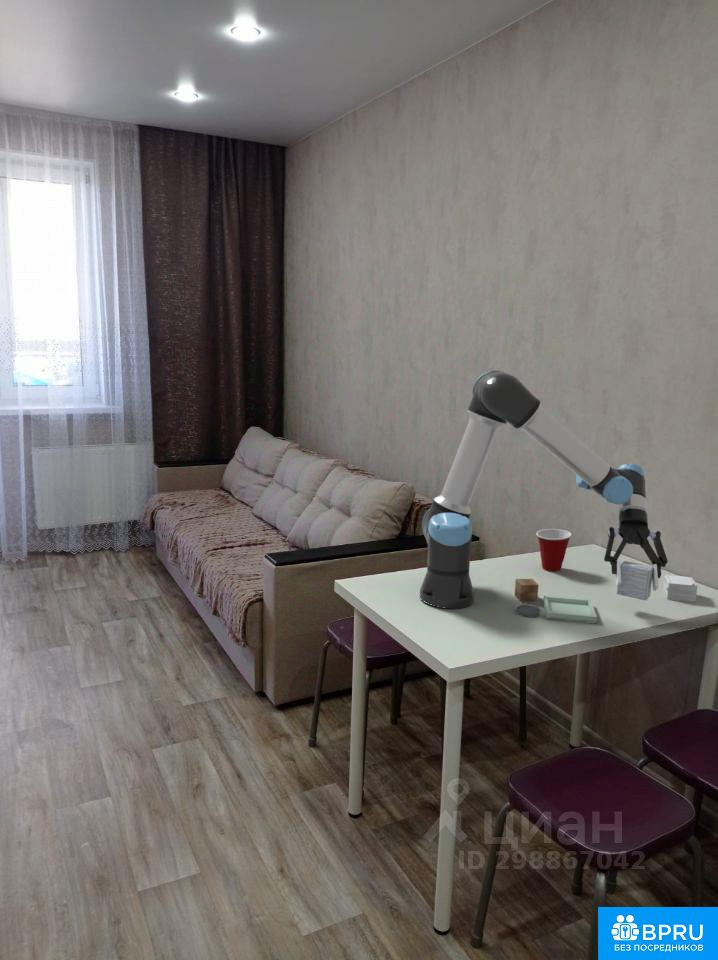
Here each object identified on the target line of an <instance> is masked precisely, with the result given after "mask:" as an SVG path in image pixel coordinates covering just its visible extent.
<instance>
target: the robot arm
mask: <svg viewBox="0 0 718 960" xmlns="http://www.w3.org/2000/svg"><path fill="white" fill-rule="evenodd" d="M467 413H468V415H469V421H468V423H467V425H466V428H465V431H464V434H463V436H462V439H461V442H460V444H459V447H458V449H457V452H456V455H455V456H454V460H453V461H452V466H451V467H450V470H449V473H448V476H447V478H446V481H445V482H444V483H445V484H444V485H443V488H442V490H441V494H440V495H438V496H436V497H434V498H433V500H432V503H431V505H430V508H429V509H428V510H427V511H426V513H425V514H424V516H423V518H422V519H423V520H422V523H421V529H422V533H423V535H424V538H425V540H426V541H425V542H426V544H427V562H426V563H427V567H426V573H425V575H424V578H423V581H422V584H421V586H420V588H419V599H420V598H421V599H422V600H423V601H425V602H427V603H429V604H432V605H435V606H439V607H445V608H444V609H447V608H456V609H463V608H467V607H469V606H472V605H473V604H474V602H475V590H474V587H473V583H472V580H471V577H470V567H471V565H470V564H471V562H470V561H471V550H472V549H471V547H472V537H473V527H472V526H473V525H472V522H471V520H470V518H471V514H472V510H471V508H470V506H469V505H470V504H471V503H470V502H471V500H472V498H473V495H474V492H475V490H476V487H477V485H478V483H479V480H480V477H481V474H482V472H483V469H484V468H485V464H486V462H487V459H488V456H489V455H490V452H491V449H492V446H493V444H494V442H495V439H496V437H497V434H498V431H499V429H500V428H502V427H504V426H507V423H508V424H510V425H511V426H512V427H513V428H514V429H516V430H522V431H524V432H525V433H526V434H528V436H530V437H531V438H532V439H534V441H536V442H537V443H538V444H540V445H541V446H542V447H543V448H545V450H546V451H548V452H549V453H550V454H551V455H552V456H554V457H555V459H557V460H559V461H560V462H561V463H562V464H563V465H564V466H566V467H567V468H568V469H569V470H570V471H571V472H573V473H574V474H575V484H576V486H577V487H579V488H582V489H585V490H590V491H593V492H595V493H596V494H597V495H599V496H600V497H602V498H603V499H605V500H606V501H607V502H608V503H610V504H613V505H618V521H619V522H618V523H619V524H618V525H619V527H618V528H614V527H613V526H610V527H609V529H608V531H607V537H608V540H607V546H606V548H605V549H606V550H605V553H604V558H603V560H604V562H606V563H607V562H609V564H610V569H611V574H612V575H615V587H616V588H618V587H619V586H620V584H621V569H620V565H621V560H618V559H619V557H620V556H621V554H622V552H623V551H624V549H625V547H626V545H637V546H640V548H641V549H642V550H643V551H644V552H645V554H646V556H647V559H649V561H650V563H651V564H652V567H653V575H652V584H651V585H652V591H654V592H655V591H657V590H658V588H659V579H660V578H661V577H662V568H666V566H667V564H668V561H669V560H668V557H667V555H666V552H665V548H664V545H663V543H662V539H661V533H662V532H661V531H659V530H657V531H651V530H650V528H649V524H648V523H649V522H648V513H647V512H648V508H647V499H646V498H647V496H646V479H645V472H644V468H642V467H641V466H640V465H639V464H636V463H623V464H622V465H620V466H619V467H617V468H613V467H612V466H610V464H608V463H607V462H606V461H605V460H604V459H602V458H601V457H600V456H599V455H598V454H597V453H595V452H594V450H592V449H591V448H590V447H588V446H587V444H585V443H584V442H582V441H581V440H580V439H579V438H578V437H577V436H576V435H575V434H573V432H571V431H570V430H569V429H567V428H566V427H565V426H564V425H562V424H561V422H559V421H558V420H557V419H556V418H555V417H553V416H552V415H551V414H550V413H549V412H548V411H546V410H545V409H544V408H543V407H542V401H540V399H538V398H537V397H536V396H535V395H534V394H533V393H532V392H531V391H530V390H529V389H528V388H527V387H526V386H525V385H524V384H523V383H522V382H521V381H520V379H518V378H517V377H516V376H515V375H513V374H510V373H507V372H505V371H501V370H490V371H487V372H485V373H483V374H481V375H480V376H479V377H478V378H477V379H476V380H475V382H474V385H473V387H472V398H471V401H470V403H469V405H468V408H467ZM617 535H619V536H620V538H621V539H622V540H621V542H620V544H619V546H618V548H617V550H616V551H615V553H614V555H611V554H612V551H613V546H614V540H615V538H616V537H617ZM649 537H650V538H651V540H652V541H653V546H654V547H655V550H654V549H653V547H652V545H651V544H650V540H649V539H648V538H649ZM655 551H656V552H655ZM421 599H420V600H421ZM439 607H438V608H439Z"/></svg>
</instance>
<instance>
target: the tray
mask: <svg viewBox="0 0 718 960" xmlns="http://www.w3.org/2000/svg"><path fill="white" fill-rule="evenodd" d="M542 599H543V601H542V602H543V607H544V611H545V617H546V620H553V621H565V622H577V623H585V624H586V623H587V622H588V623H587V624H597V622H598V615H597V613H596V611H595V607H594V606H593V603H592V600H591V599H588V598H587V599H586V598H576V597H565V596H564V597H563V596H562V597H561V596H554V595H553V596H551V595H543V598H542Z"/></svg>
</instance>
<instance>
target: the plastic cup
mask: <svg viewBox="0 0 718 960" xmlns="http://www.w3.org/2000/svg"><path fill="white" fill-rule="evenodd" d="M535 535H536V536H537V540H538V543H539V553H540V561H541V568H542V569H543V570H544V571H548V572H560V571H561V569H562V566H563V563H564V560H565V557H566V556H565V555H566V553H567V548H568V544H569V541H570V538H571V536H572V533H571V532H570V531H568V530H565V529H558V528H548V529H547V528H546V529H540V530H538V531H536V534H535Z"/></svg>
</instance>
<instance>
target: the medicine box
mask: <svg viewBox="0 0 718 960" xmlns="http://www.w3.org/2000/svg"><path fill="white" fill-rule="evenodd" d="M620 569H621V584H620V586H619V587H616V588H617V589H616V595H617V596H618V595H619V596H623V597H628V598H633V599H638V600H642V601H648V599H649V598H650V597H651V591H652V589H651V588H652V585H653V584H652V575H653V565H646V564H643V563H637V562H632V561H627V560H624V561H623V562H622V563H620Z"/></svg>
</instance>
